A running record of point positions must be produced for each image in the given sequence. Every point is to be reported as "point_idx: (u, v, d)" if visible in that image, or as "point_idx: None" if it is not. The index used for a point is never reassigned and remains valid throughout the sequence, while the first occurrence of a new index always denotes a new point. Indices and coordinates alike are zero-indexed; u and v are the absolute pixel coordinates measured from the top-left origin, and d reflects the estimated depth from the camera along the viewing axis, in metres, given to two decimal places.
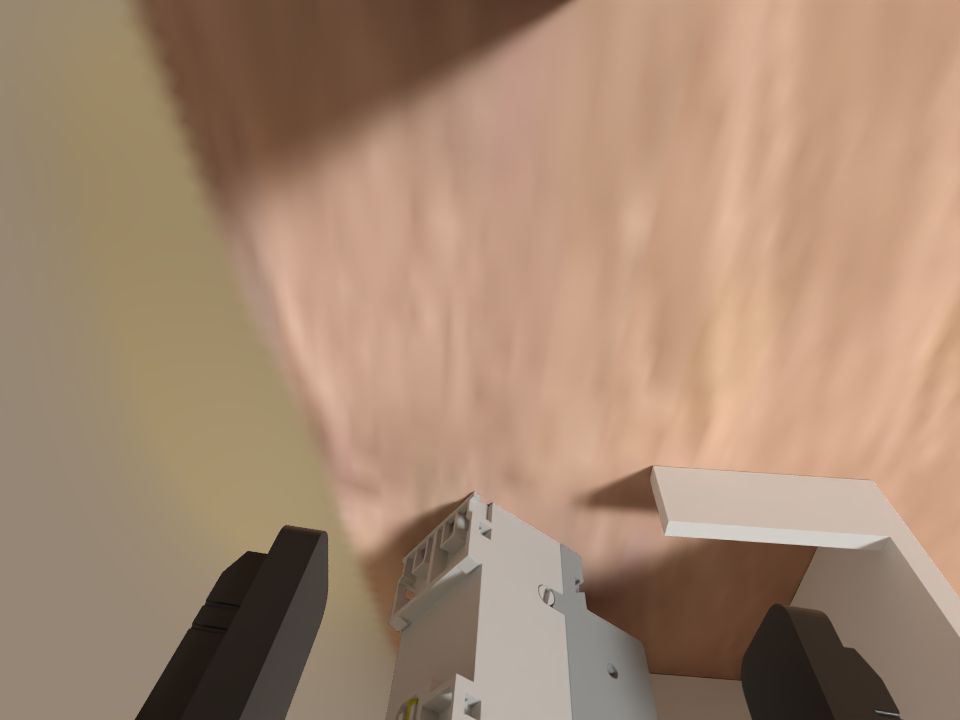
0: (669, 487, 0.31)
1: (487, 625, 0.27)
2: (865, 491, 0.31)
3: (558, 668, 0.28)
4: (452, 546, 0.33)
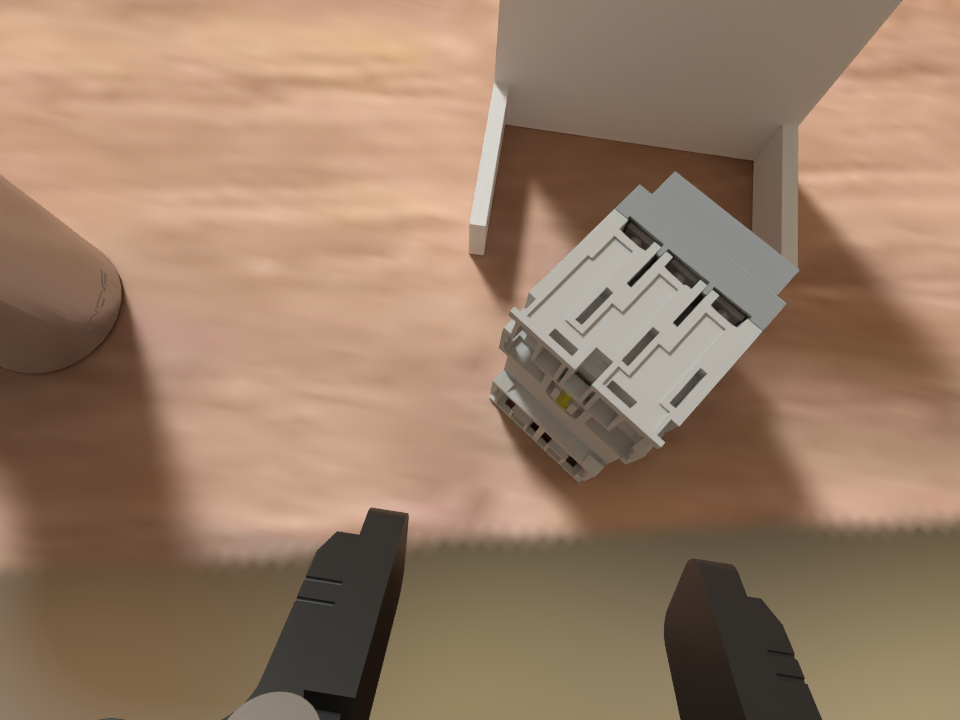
0: None
1: None
2: None
3: None
4: (526, 413, 0.35)
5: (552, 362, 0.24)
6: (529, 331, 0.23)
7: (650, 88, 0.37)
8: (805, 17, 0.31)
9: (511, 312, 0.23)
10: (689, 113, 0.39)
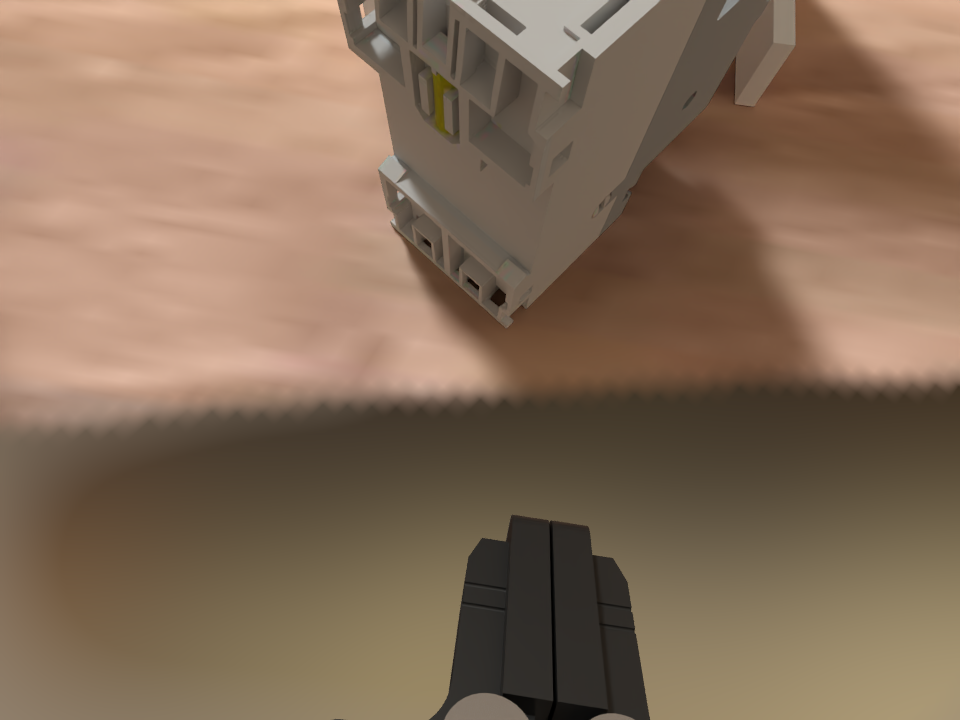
0: None
1: None
2: None
3: None
4: (432, 228, 0.26)
5: None
6: None
7: None
8: None
9: None
10: None
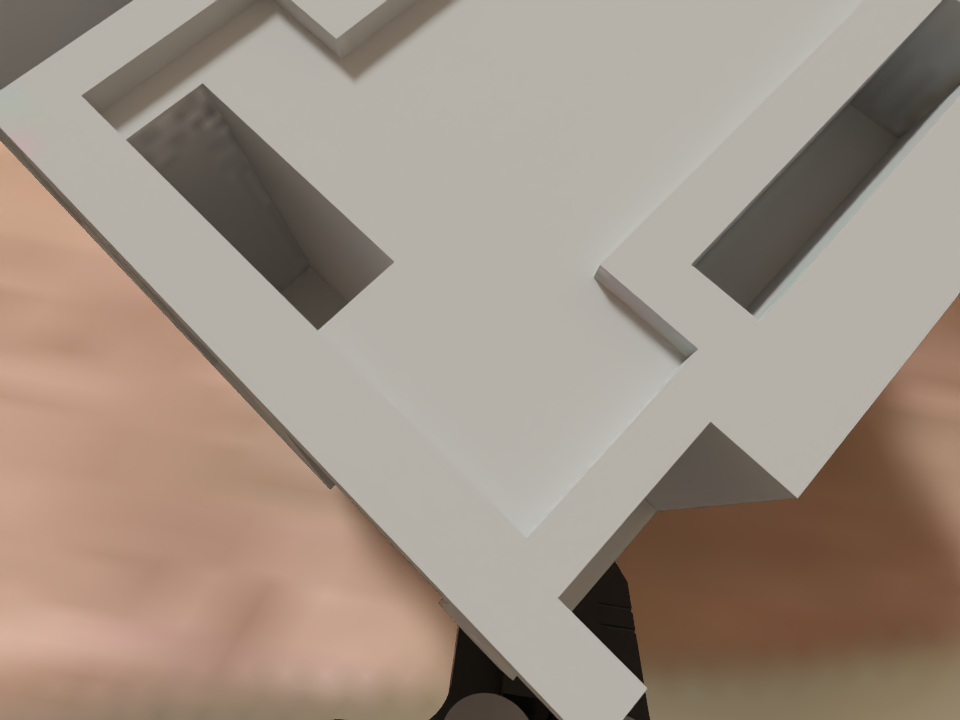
0: None
1: None
2: None
3: None
4: None
5: None
6: None
7: None
8: None
9: None
10: None
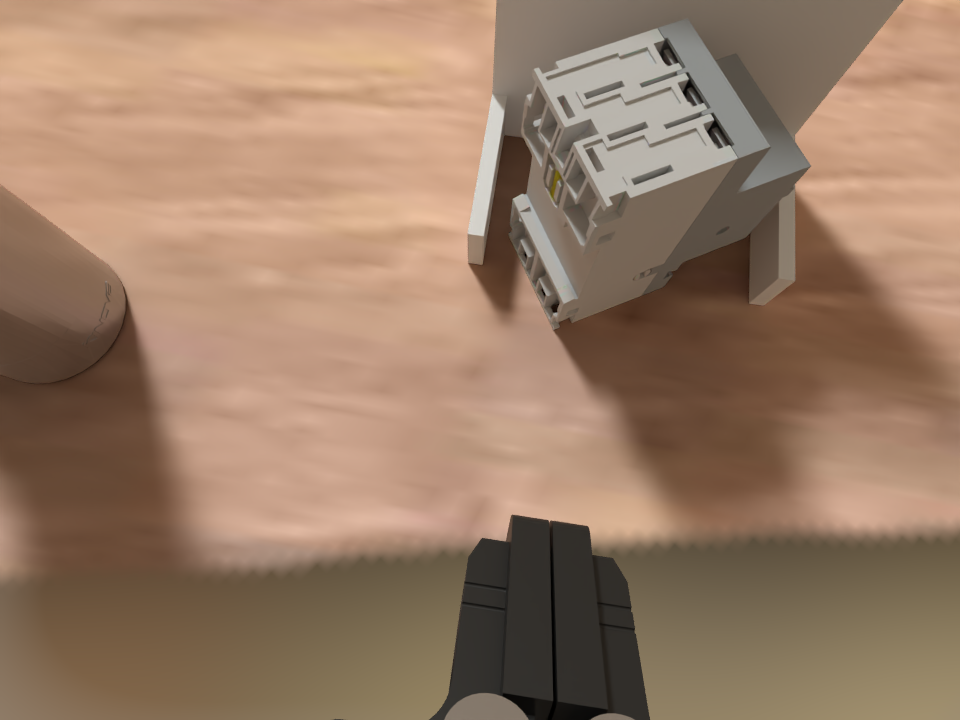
0: None
1: None
2: None
3: None
4: (531, 247, 0.38)
5: None
6: (542, 92, 0.26)
7: None
8: (798, 28, 0.31)
9: (534, 70, 0.26)
10: None
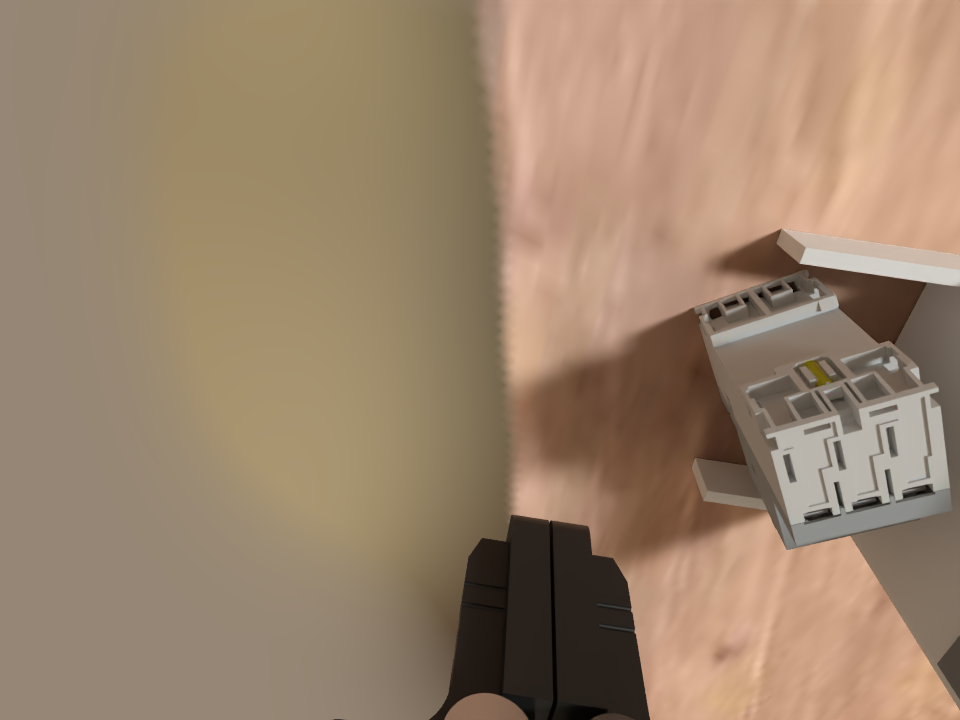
0: (799, 237, 0.37)
1: None
2: (956, 257, 0.37)
3: None
4: (780, 299, 0.39)
5: (861, 385, 0.29)
6: (908, 390, 0.27)
7: None
8: (926, 567, 0.36)
9: (936, 387, 0.27)
10: None
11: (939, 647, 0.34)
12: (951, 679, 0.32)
